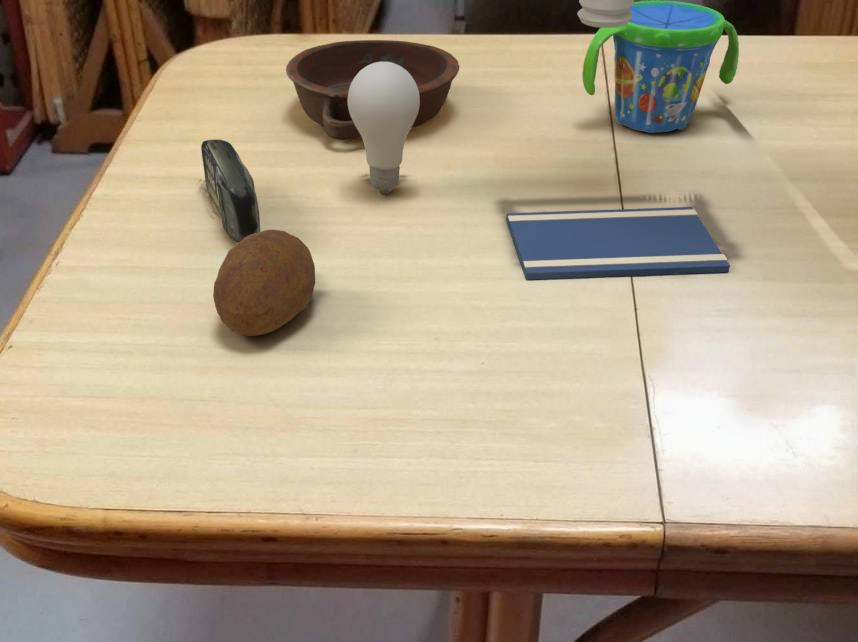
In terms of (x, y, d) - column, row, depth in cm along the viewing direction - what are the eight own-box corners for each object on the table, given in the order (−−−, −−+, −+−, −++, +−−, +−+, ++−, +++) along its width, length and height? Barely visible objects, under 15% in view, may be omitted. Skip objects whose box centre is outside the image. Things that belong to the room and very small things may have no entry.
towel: (690, 213, 92) (692, 205, 92) (728, 272, 84) (730, 264, 83) (506, 219, 91) (506, 211, 91) (526, 280, 83) (526, 271, 83)
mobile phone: (194, 136, 93) (231, 198, 82) (228, 132, 94) (269, 193, 83) (201, 192, 96) (238, 259, 85) (234, 187, 97) (275, 253, 86)
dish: (473, 84, 117) (475, 35, 114) (438, 160, 101) (439, 106, 98) (319, 74, 120) (317, 26, 117) (261, 146, 104) (256, 93, 101)
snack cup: (708, 100, 113) (727, -5, 106) (745, 137, 105) (769, 26, 98) (563, 108, 111) (574, 2, 105) (591, 146, 103) (604, 33, 97)
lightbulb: (408, 175, 98) (408, 49, 91) (427, 202, 94) (429, 71, 87) (344, 182, 97) (339, 55, 90) (359, 210, 93) (355, 78, 86)
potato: (196, 344, 76) (183, 262, 72) (252, 282, 83) (244, 204, 79) (281, 359, 74) (274, 276, 70) (332, 294, 81) (328, 216, 77)
